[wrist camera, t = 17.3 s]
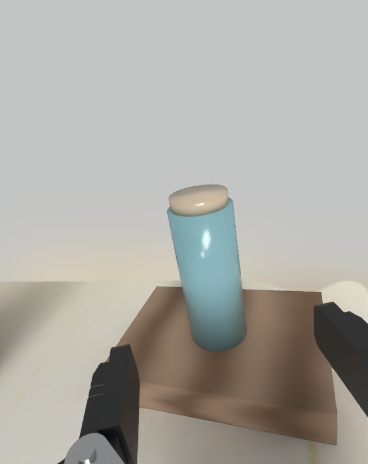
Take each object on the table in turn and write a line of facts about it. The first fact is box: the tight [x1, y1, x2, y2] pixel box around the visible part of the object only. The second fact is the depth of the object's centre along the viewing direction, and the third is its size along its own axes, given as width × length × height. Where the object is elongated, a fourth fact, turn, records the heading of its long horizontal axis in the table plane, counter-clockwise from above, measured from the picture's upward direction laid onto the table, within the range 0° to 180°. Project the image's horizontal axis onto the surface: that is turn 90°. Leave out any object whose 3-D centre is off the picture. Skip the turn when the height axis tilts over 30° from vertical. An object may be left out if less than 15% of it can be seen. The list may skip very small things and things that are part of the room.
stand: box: [106, 286, 337, 445], centre depth 28 cm, size 18×13×3 cm
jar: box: [167, 185, 247, 351], centre depth 25 cm, size 5×5×13 cm
